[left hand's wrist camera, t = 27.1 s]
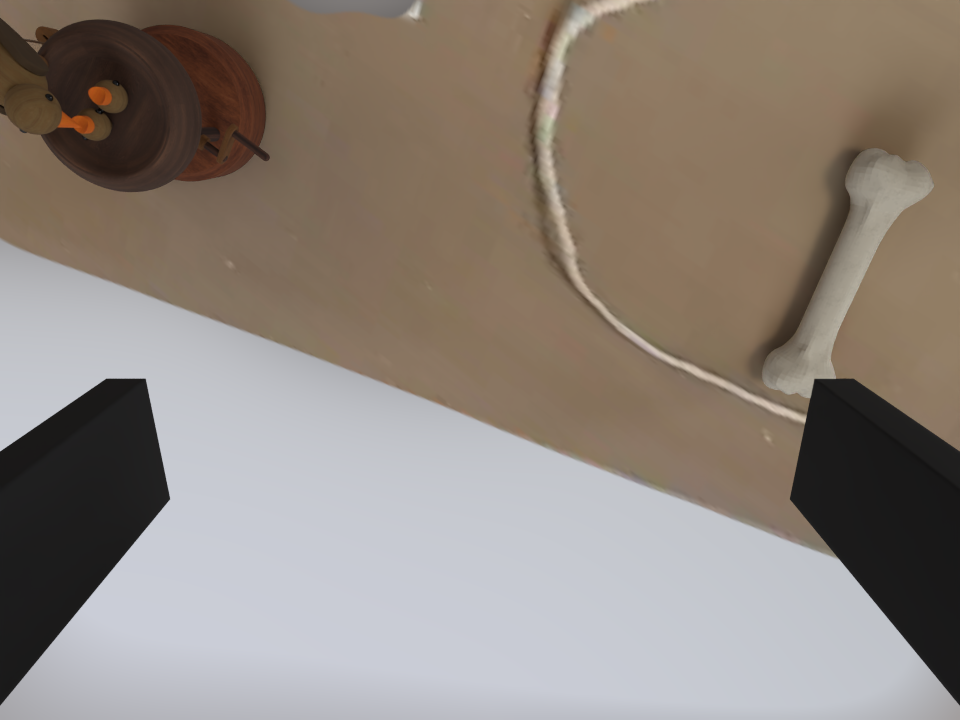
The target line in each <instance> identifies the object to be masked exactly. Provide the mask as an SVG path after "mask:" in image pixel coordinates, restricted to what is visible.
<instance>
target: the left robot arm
mask: <svg viewBox="0 0 960 720" xmlns="http://www.w3.org/2000/svg"><path fill="white" fill-rule="evenodd" d="M169 500H170V496H169V491H168V486H167V482H166V477H165V472H164V467H163V462H162V457H161V452H160V447H159V442H158V437H157V432H156V428H155V423H154V418H153V413H152V408H151V403H150V398H149V393H148V389H147V383H146V379H105V380H104V381H102V382H101V383H100V384H98V385H97V386H95V387H94V388H92V389H91V390H89V391H88V392H86V393H85V394H84V395H82V396H81V397H79V398H78V399H76V400H75V401H73V402H72V403H70V404H69V405H67V406H66V407H65V408H63V409H62V410H60V411H59V412H57V413H56V414H54V415H53V416H51V417H50V418H48V419H47V420H46V421H44V422H43V423H41V424H40V425H38V426H37V427H35V428H34V429H33V430H31V431H30V432H28V433H27V434H25V435H24V436H22V437H21V438H19V439H18V440H16V441H15V442H13V443H12V444H11V445H9V446H8V447H6V448H5V449H3V450H2V451H0V705H1V704H2V703H3V701H4V700H5V699H6V698H7V697H8V695H9V694H10V693H11V692H12V691H13V689H14V688H15V687H16V686H17V684H18V683H19V682H20V681H21V680H22V678H23V677H24V676H25V675H26V674H27V672H28V671H29V670H30V669H31V667H32V666H33V665H34V664H35V663H36V661H37V660H38V659H39V658H40V656H41V655H42V654H43V653H44V652H45V650H46V649H47V648H48V647H49V646H50V644H51V643H52V642H53V641H54V640H55V638H56V637H57V636H58V635H59V633H60V632H61V631H62V630H63V629H64V627H65V626H66V625H67V624H68V622H69V621H70V620H71V619H72V618H73V616H74V615H75V614H76V613H77V612H78V610H79V609H80V608H81V607H82V605H83V604H84V603H85V602H86V601H87V599H88V598H89V597H90V596H91V595H92V593H93V592H94V591H95V590H96V588H97V587H98V586H99V585H100V584H101V582H102V581H103V580H104V579H105V578H106V576H107V575H108V574H109V573H110V571H111V570H112V569H113V568H114V567H115V565H116V564H117V563H118V562H119V561H120V559H121V558H122V557H123V556H124V555H125V553H126V552H127V551H128V550H129V548H130V547H131V546H132V545H133V544H134V542H135V541H136V540H137V539H138V538H139V536H140V535H141V534H142V533H143V531H144V530H145V529H146V528H147V527H148V525H149V524H150V523H151V522H152V521H153V519H154V518H155V517H156V516H157V514H158V513H159V512H160V511H161V510H162V508H163V507H164V506H165V505H166V504H167V502H168V501H169ZM790 500H791V501H792V502H793V504H794V505H795V506H796V507H797V508H798V510H799V511H800V512H801V513H802V514H803V516H804V517H805V518H806V519H807V521H808V522H809V523H810V524H811V525H812V527H813V528H814V529H815V530H816V531H817V533H818V534H819V535H820V536H821V538H822V539H823V540H824V541H825V542H826V544H827V545H828V546H829V547H830V548H831V550H832V551H833V552H834V553H835V555H836V556H837V557H838V558H839V559H840V561H841V562H842V563H843V564H844V565H845V567H846V568H847V569H848V570H849V572H850V573H851V574H852V575H853V576H854V578H855V579H856V580H857V581H858V582H859V584H860V585H861V586H862V587H863V589H864V590H865V591H866V592H867V593H868V594H869V596H870V597H871V598H872V599H873V601H874V602H875V603H876V604H877V605H878V607H879V608H880V609H881V610H882V612H883V613H884V614H885V615H886V616H887V618H888V619H889V620H890V621H891V623H892V624H893V625H894V626H895V627H896V629H897V630H898V631H899V632H900V633H901V635H902V636H903V637H904V638H905V639H906V641H907V642H908V643H909V644H910V646H911V647H912V648H913V649H914V650H915V652H916V653H917V654H918V655H919V656H920V658H921V659H922V660H923V661H924V663H925V664H926V665H927V666H928V667H929V669H930V670H931V671H932V672H933V674H934V675H935V676H936V677H937V678H938V680H939V681H940V682H941V683H942V684H943V686H944V687H945V688H946V689H947V691H948V692H949V693H950V694H951V695H952V697H953V698H954V699H955V700H956V701H957V703H958V704H959V705H960V451H958V450H957V449H955V448H954V447H952V446H951V445H949V444H948V443H947V442H945V441H944V440H942V439H941V438H939V437H938V436H936V435H935V434H933V433H932V432H930V431H929V430H928V429H926V428H925V427H923V426H922V425H920V424H919V423H917V422H916V421H914V420H913V419H912V418H910V417H909V416H907V415H906V414H904V413H903V412H901V411H900V410H898V409H897V408H895V407H894V406H893V405H891V404H890V403H888V402H887V401H885V400H884V399H882V398H881V397H879V396H878V395H877V394H875V393H874V392H872V391H871V390H869V389H868V388H866V387H865V386H863V385H862V384H860V383H859V382H858V381H856V380H855V379H814V383H813V388H812V393H811V398H810V403H809V408H808V413H807V418H806V423H805V428H804V432H803V437H802V442H801V447H800V452H799V457H798V462H797V467H796V472H795V476H794V481H793V486H792V491H791V496H790Z"/></svg>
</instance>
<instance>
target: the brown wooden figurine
mask: <svg viewBox="0 0 960 720" xmlns="http://www.w3.org/2000/svg"><path fill="white" fill-rule="evenodd" d="M36 38H37V40H38V41H35V40H29V39H24V38H22V37H21V36H20V35H19V34H18V33H17V32H16V31H14V30H13V29H12V28H11V27H10V26H9V25H8V24H7V23H5V22H4V21H3V20H2V19H1V18H0V113H1V114H4V115H7V116H8V118H9V119H10V121H11V122H12V123H13V124H14V125H15V126H17V127H18V128H19V129H20V131H21V132H23V133H27V132H28V133H31V134H37V135H41V136H42V138H43V140H44V141H45V143H46V144H47V146H48V147H49V148H50V150H51V151H52V152H53V153H54V155H55V156H56V157H57V158H58V159H59V160H60V161H61V162H62V163H63V164H64V165H65V166H67V167H68V168H69V169H70V170H72V171H73V172H74V173H76V174H77V175H79V176H80V177H82V178H84V179H85V180H87V181H89V182H91V183H93V184H96V185H98V186H101V187H104V188H107V189H111V190H116V191H123V192H141V191H147V190H152V189H155V188H158V187H161V186H163V185H165V184H167V183H169V182H171V181H172V180H174V179H176V180H181V181H201V180H206V179H211V178H215V177H220V176H224V175H227V174H230V173H232V172H234V171H236V170H238V169H239V168H241V167H242V166H243V165H245V164H246V163H247V162H248V161H249V160H250V159H251V157H252V156H253V155H254V153H255V154H256V155H257V156H259V157H260V158H261V159H263V160H264V161H268V160H269V158H270V156H269V155H268V154H267V153H266V152H265V151H263V150H262V149H261V148H259V147H258V146H259V144H260V142H261V139H262V136H263V133H264V128H265V104H264V99H263V95H262V91H261V88H260V86H259V83H258V81H257V79H256V77H255V75H254V73H253V72H252V70H251V68H250V67H249V65H248V64H247V63H246V62H245V60H244V59H243V58H242V57H241V56H240V55H239V54H238V53H237V52H236V51H235V50H234V49H232V48H231V47H230V46H229V45H227V44H226V43H224V42H223V41H221V40H219V39H217V38H215V37H213V36H210V35H208V34H205V33H201V32H198V31H195V30H192V29H189V28H185V27H181V26H176V25H157V26H152V27H148V28H145V29H142V30H140V29H138V28H135V27H133V26H130V25H127V24H124V23H121V22H116V21H110V20H86V21H81V22H77V23H74V24H71V25H68V26H66V27H64V28H62V29H61V30H59V31H58V30H56V29H52V28H48V27H39V28H37V30H36ZM26 41H27V42H33V43H39V44H42V47H41V48H40V50H39V51H38V53H37V52H36V51H35V50H34V49H33V48H32V47H31V46H30V45H29V44H28V43H27V42H26Z"/></svg>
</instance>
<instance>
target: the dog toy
mask: <svg viewBox="0 0 960 720" xmlns="http://www.w3.org/2000/svg"><path fill="white" fill-rule="evenodd" d="M845 187H846V189H847V191H848V193H849V195H850V211H849V214H848V217H847V220H846V222H845V224H844V227H843V229H842V231H841V233H840V236H839V238H838V240H837V242H836V245H835V247H834V249H833V251H832V254H831V256H830V258H829V260H828V262H827V265H826V267H825V269H824V271H823V274H822V276H821V278H820V280H819V282H818V285H817V287H816V289H815V291H814V294H813V296H812V298H811V300H810V303H809V305H808V307H807V309H806V311H805V314H804V316H803V318H802V320H801V322H800V325H799V327H798V329H797V330H796V332H795V334H794V335H793V336H792V338H791V339H789V340H788V341H787V342H786V343H785V344H784V345H782V346H781V347H778V348H776V349H774V350H773V351H772V352H770V353H769V355H768V356H767V358H766V360H765V362H764V365H763V369H762V379H763V382H764V383H765V385H766V386H768V387H769V388H772V389H775V390H781V391H782V392H784V393H785V394H794V393H798V394H799V395H800V396H802V397H806V398H811V393H812V388H813V383H814V379H836V376H835V371H834V368H833V365H832V363H831V353H832V348H833V344H834V341H835V338H836V336H837V333H838V330H839V328H840V326H841V323H842V321H843V319H844V317H845V315H846V313H847V311H848V309H849V306H850V304H851V302H852V300H853V298H854V296H855V294H856V292H857V290H858V287H859V285H860V283H861V281H862V279H863V277H864V275H865V273H866V271H867V268H868V266H869V264H870V262H871V260H872V258H873V256H874V254H875V252H876V250H877V248H878V246H879V244H880V242H881V240H882V238H883V237H884V235H885V233H886V232H887V230H888V229H889V227H890V226H891V224H892V223H893V222H894V220H895V219H896V218H897V217H898V216H899V214H900V213H901V212H902V211H903V210H904V209H905V208H907V207H909V206H911V205H913V204H915V203H916V202H918V201H920V200H921V199H923V198H924V197H926V196H927V195H928V194H929V193H930V192H931V191H932V189H933V187H934V183H933V180H932V178H931V175H930V173H929V171H928V169H927V168H926V167H925V166H924V165H923V164H922V163H920V162H918V161H915V160H911V161H908V162H905V161H904V160H902V159H901V158H900V157H899V156H897V155H890V154H888V153H887V152H886V151H885V150H882V149H879V148H869V149H866V150H864V151H862V152H861V153H860V154H859V155H858V156H857V157H856V158H855V160H854V161H853V163H852V164H851V166H850V168H849V170H848V172H847V175H846V179H845Z"/></svg>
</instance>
